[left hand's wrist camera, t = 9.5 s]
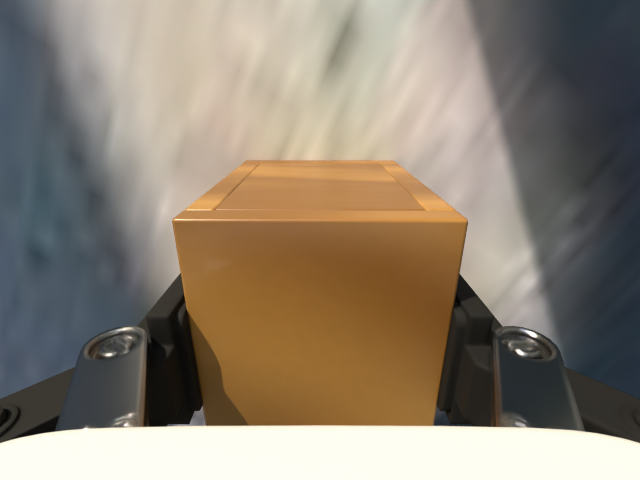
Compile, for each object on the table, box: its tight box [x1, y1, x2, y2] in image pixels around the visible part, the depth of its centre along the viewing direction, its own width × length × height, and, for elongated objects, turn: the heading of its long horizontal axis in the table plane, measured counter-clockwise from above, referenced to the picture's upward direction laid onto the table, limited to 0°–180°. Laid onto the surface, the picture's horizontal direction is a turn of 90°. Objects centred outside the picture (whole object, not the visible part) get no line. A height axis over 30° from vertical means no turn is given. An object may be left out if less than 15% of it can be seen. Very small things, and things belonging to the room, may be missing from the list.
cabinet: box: [172, 161, 468, 426], centre depth 14 cm, size 18×6×8 cm, turn 0°
